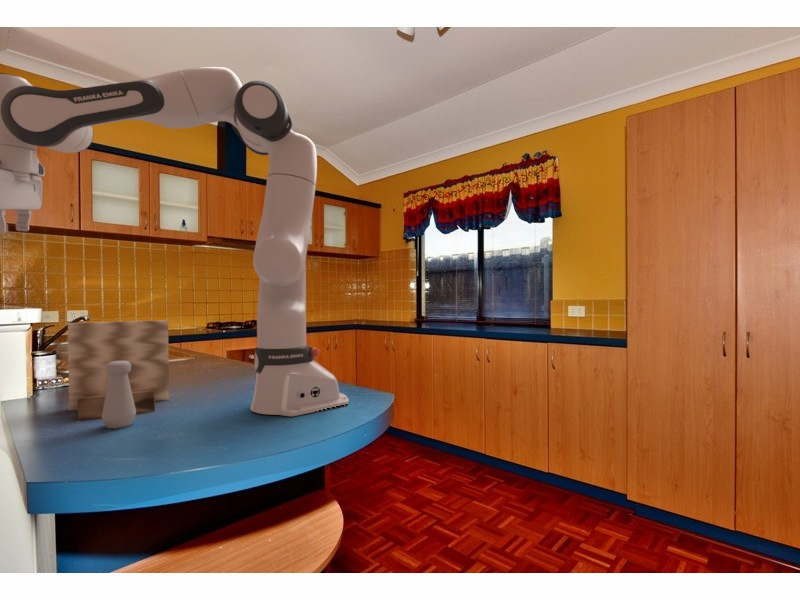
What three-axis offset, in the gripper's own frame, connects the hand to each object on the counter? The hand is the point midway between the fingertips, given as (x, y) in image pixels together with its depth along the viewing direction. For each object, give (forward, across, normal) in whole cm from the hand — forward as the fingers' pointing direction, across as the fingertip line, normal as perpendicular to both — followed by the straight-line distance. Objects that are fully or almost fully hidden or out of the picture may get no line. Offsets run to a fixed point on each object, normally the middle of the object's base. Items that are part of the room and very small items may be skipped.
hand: (12, 232), depth 85 cm
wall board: (+40, +2, -18) cm, 44 cm away
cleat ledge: (+39, -4, -19) cm, 43 cm away
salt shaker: (+36, -17, -22) cm, 46 cm away
